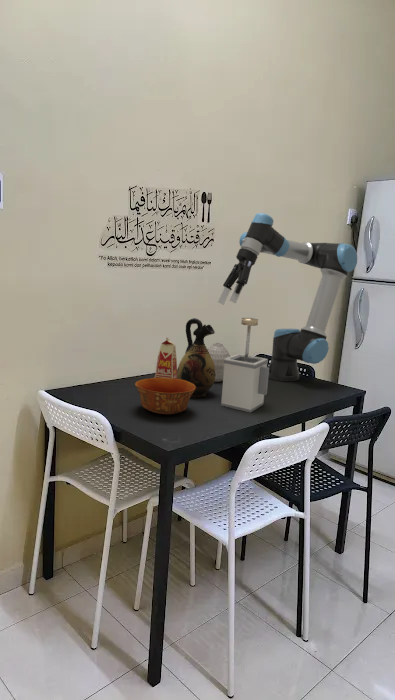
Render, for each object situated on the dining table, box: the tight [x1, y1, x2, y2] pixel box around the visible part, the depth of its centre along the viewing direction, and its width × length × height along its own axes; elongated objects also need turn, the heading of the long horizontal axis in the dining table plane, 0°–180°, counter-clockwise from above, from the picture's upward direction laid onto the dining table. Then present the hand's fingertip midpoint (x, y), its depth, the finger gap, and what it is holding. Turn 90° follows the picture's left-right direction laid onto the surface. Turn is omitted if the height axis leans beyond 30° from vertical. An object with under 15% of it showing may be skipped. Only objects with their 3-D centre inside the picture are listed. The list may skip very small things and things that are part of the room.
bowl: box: [134, 377, 196, 415], centre depth 182 cm, size 21×21×10 cm
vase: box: [207, 341, 231, 383], centre depth 228 cm, size 13×13×17 cm
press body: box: [220, 353, 269, 413], centre depth 193 cm, size 12×15×18 cm
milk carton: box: [153, 337, 178, 379], centre depth 218 cm, size 9×9×20 cm
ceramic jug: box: [177, 317, 216, 398], centre depth 204 cm, size 17×15×30 cm
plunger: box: [240, 317, 259, 362], centre depth 191 cm, size 9×9×22 cm
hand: (226, 302), depth 195 cm, fingers open, 13 cm apart
